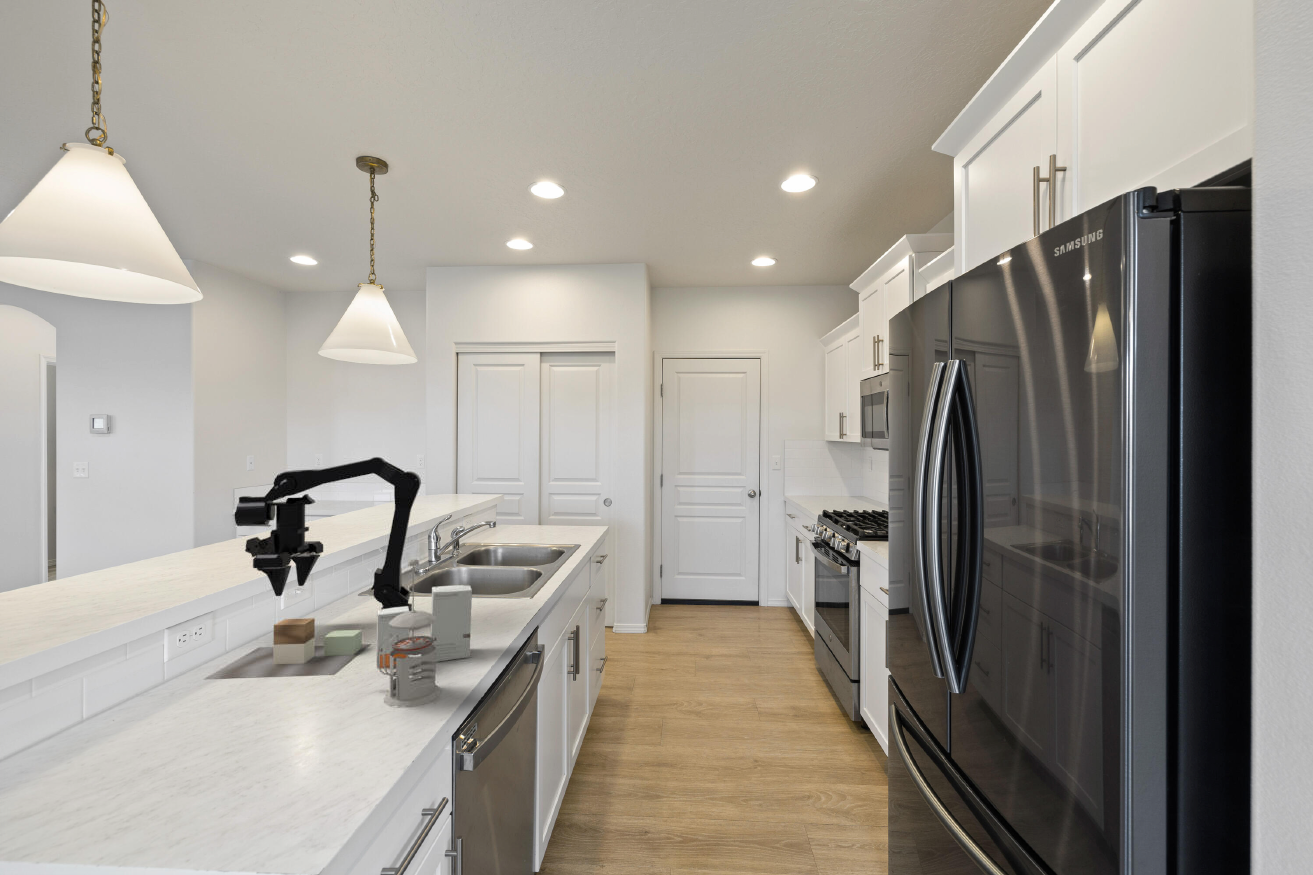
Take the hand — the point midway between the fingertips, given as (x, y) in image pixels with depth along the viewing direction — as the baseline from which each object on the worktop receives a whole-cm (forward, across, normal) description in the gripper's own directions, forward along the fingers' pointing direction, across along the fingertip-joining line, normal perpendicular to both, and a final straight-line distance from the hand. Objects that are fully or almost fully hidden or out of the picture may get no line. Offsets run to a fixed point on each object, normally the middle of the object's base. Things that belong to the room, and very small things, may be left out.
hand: (290, 590), depth 131 cm
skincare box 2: (+12, +12, +40) cm, 44 cm away
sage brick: (+11, +11, +17) cm, 23 cm away
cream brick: (+11, +15, +9) cm, 21 cm away
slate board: (+12, +15, +9) cm, 21 cm away
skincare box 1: (+12, +18, +30) cm, 37 cm away
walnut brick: (+7, +15, +9) cm, 19 cm away
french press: (+12, +32, +38) cm, 51 cm away
